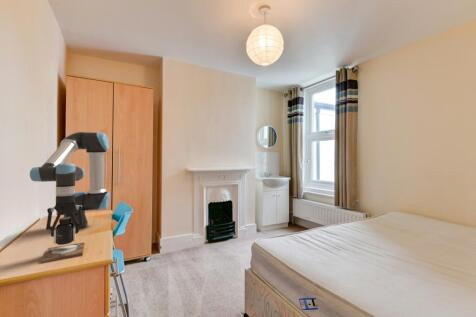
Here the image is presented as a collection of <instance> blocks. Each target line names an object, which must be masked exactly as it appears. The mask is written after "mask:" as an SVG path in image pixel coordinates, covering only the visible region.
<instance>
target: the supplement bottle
mask: <svg viewBox="0 0 476 317" xmlns="http://www.w3.org/2000/svg"><path fill="white" fill-rule="evenodd" d="M63 217H64V216H63ZM63 217H60V218H59V220H58V223H57V225H56V227H55V229H56V244H55V245H59V246H65V245H69V244H70V243H71V244H72V243H73V242H74V241H73V228H74V224H73V223H72V222H71V221H72V218H71V217H64V218H63Z"/></svg>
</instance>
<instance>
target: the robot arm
mask: <svg viewBox="0 0 476 317" xmlns="http://www.w3.org/2000/svg"><path fill="white" fill-rule="evenodd" d="M109 142H110V140H109V138H108V135H107V134H106V133H104V132H92V131H91V132H87V131H77V132H74V133H72V134H70V135H68V136H65V137H64V138H63V139H62V140H61V142H60V143H59V147H58V148H57V149H56V150H55V151H54V152H53V153H52V154H51V155H50V156H49V157H48V159H47V160H46V161H45V162H44V163H43V164H42V165H41V166H33V167H32V168H31V169H30V171H29V178H30V179H31V181H32V182H38V183H39V182H45V183H46V182H55V195H56V196H55V204H54V206H53V207H49V208H47V210H46V211H47V218H46V227H45V229H46V230H49V231H50V236H51V237H52V238H53V245H57V244H56V227H57V225H58V223H59V219H60V218H61V216H62V215H63V217H62V218H64V217H71V218H72V221H71V222H72V223H73V224H74V228H73V242H75V241H76V240H77V239H76V238H77V235H76V234H79V229H81V228H84V227H87V226H89V220H88V219H87V216H86V211H103V210H107V208H108V206H109V204H110V201H111V193H110V192H108V190H107V189H106V188H105V154H106V153H107V150H109V149H110V143H109ZM78 150H85V151H86V152H85V153H86V154H87V155H88V160H89V163H88V167H89V168H88V169H89V189H88V191H87V192H86V191H77V192H76V182H78V181H80V180H82V179H84V177H85V176H86V172H85V171H86V170H85V169H84V168H83V167H81V166H76V164H75V163H66V162H67V161H68V160H69V158H70V157H71V155H72V154H73V153H75V152H77V151H78ZM53 212H57V215H56V217H55V219H54V222H53V224H52V226H51V223H52V217H53Z"/></svg>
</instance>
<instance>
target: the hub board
mask: <svg viewBox="0 0 476 317" xmlns="http://www.w3.org/2000/svg"><path fill="white" fill-rule="evenodd" d="M84 249H85V242H78V243H77V242H76V243H73V244H72V243H71V244H64V245H59V246H54V247H48V248H47V249H46V251H45V253H44V255H43V257H42V259H41V261H40V262H41V264H44V263H49V262H56V261H62V260H66V259H71V258H76V257H82V256H83V253H84Z"/></svg>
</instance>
